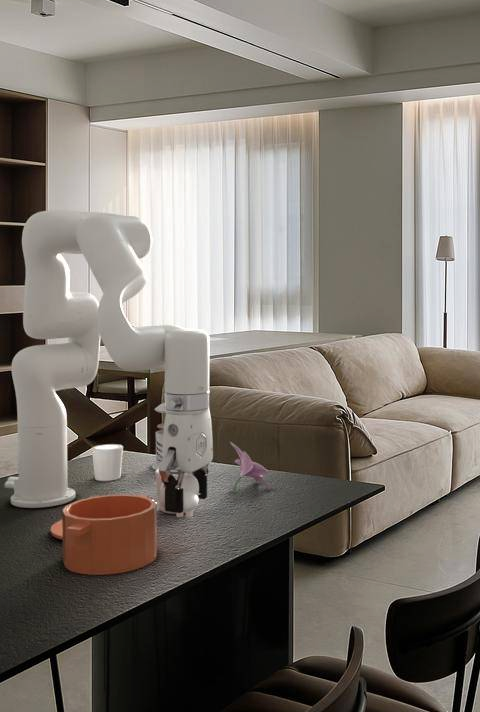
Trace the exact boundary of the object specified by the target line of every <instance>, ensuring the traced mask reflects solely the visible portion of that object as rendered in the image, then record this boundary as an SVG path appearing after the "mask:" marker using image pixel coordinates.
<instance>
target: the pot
mask: <svg viewBox="0 0 480 712" xmlns="http://www.w3.org/2000/svg"><path fill="white" fill-rule="evenodd" d="M157 503H158V502H156V501H155V500H154V499H153V498H151V497H149V495H146V494H105V495H102V496H97V497H91V498H89V497H87V498H82V499H79V500H76V501H74V502H71V503H69V504H67V505H66V506H64V508H62V511H61V513H62V514H61V515H62V516H61V517H62V518H61V520H62V528H63V540H62V562H63V566H64V568H66V570H69V571H70V572H72V573H77V574H82V575H90V576H104V575H106V576H107V575H116V574H123V573H127V572H132V571H136V570H138V569H141V568H143V567H146V566H148V565H150V564H151V563H153V562H154V561H155V560H156V558H157V552H158V512H157V511H158V509H157V507H158V506H157V505H158V504H157Z"/></svg>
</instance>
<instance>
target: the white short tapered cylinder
mask: <svg viewBox="0 0 480 712" xmlns="http://www.w3.org/2000/svg"><path fill="white" fill-rule="evenodd" d="M123 450H124V446H123V445H122V444H116V443H106V444H99V445H95V446H92V447H91V456H92V464H93V474H94V475H93V476H94V480H95V481H99V482H109V481H115V480H116V481H117V480H118V479H121V476H122V467H123V466H122V465H123V454H124V453H123V452H124V451H123Z"/></svg>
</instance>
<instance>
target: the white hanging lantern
mask: <svg viewBox="0 0 480 712" xmlns="http://www.w3.org/2000/svg"><path fill="white" fill-rule="evenodd" d="M154 411H156V412H157V413H161V414H166V412H165V402H163V403H161V404H158V406H156V407H155V408H154ZM164 423H165V422H164ZM164 423H160V424H159V423H158V424H157V426H156V428H157V429H159V430H157V431H155V463H154V464H153V465H152V466H151V469H153V470H155V471H156V470H157V469H159V467H160V465H161V464H162V462H163V456H162V454H163V433H164Z"/></svg>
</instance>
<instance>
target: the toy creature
mask: <svg viewBox="0 0 480 712" xmlns="http://www.w3.org/2000/svg"><path fill="white" fill-rule="evenodd" d="M181 488H183V512H181V513H176V514H175V515H176V517H177V518H183V517H184V514H185V518H192V517H193V513H194V512H196V508H197V506H198V505H199V500H200V499H199V498H198V495H200V493H199V483H198V480H197V479H196V477H195V476H193V475H192V474H184V478H183V482H182V485H181Z"/></svg>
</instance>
